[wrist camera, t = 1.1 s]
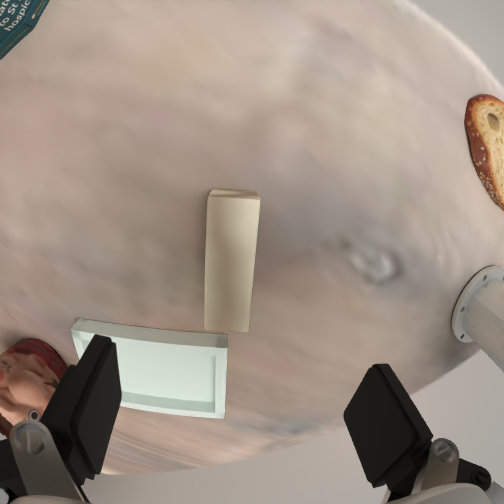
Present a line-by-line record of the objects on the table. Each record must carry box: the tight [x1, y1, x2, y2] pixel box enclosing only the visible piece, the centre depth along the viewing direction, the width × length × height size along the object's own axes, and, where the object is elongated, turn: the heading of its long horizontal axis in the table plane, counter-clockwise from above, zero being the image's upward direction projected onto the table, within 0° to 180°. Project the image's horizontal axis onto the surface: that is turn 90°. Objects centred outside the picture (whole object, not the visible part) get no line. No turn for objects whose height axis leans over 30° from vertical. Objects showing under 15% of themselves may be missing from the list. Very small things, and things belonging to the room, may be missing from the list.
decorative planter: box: [0, 339, 67, 439], centre depth 27 cm, size 20×12×14 cm, turn 103°
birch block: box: [204, 188, 260, 332], centre depth 26 cm, size 4×12×5 cm, turn 175°
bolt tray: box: [71, 318, 228, 418], centre depth 32 cm, size 18×12×2 cm
